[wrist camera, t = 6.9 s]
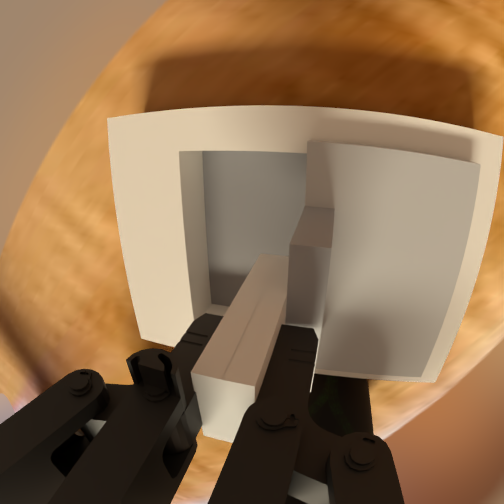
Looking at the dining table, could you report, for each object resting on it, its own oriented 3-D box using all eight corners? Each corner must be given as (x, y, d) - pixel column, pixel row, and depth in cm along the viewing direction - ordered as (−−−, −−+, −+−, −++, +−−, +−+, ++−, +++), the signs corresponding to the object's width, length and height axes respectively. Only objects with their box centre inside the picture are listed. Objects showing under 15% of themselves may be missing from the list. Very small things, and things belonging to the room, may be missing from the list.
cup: (328, 333, 20) (298, 505, 10) (401, 384, 20) (405, 532, 10) (263, 387, 24) (214, 520, 13) (333, 427, 24) (311, 551, 13)
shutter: (294, 355, 17) (276, 423, 13) (309, 139, 12) (292, 151, 8) (419, 367, 15) (429, 435, 11) (473, 161, 10) (530, 187, 6)
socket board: (164, 310, 23) (141, 338, 20) (143, 115, 17) (107, 118, 14) (426, 346, 19) (434, 382, 15) (474, 131, 13) (503, 137, 10)
